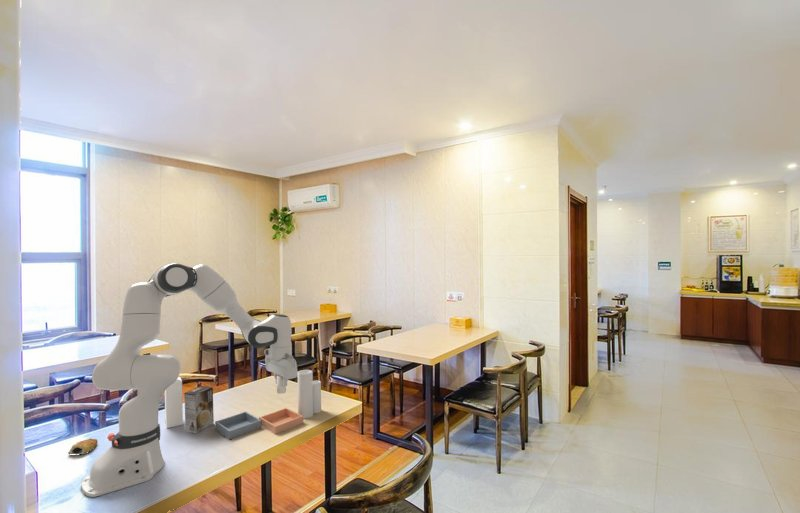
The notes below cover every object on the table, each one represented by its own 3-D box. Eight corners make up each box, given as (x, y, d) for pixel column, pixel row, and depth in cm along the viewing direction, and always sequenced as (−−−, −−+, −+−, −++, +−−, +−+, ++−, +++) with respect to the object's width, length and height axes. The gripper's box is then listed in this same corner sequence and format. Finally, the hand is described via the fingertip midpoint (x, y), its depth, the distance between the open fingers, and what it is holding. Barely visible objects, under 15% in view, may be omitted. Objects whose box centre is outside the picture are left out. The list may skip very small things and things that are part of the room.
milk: (166, 428, 162) (165, 376, 161) (165, 423, 166) (163, 372, 166) (183, 424, 165) (181, 373, 165) (181, 419, 170) (179, 369, 170)
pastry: (84, 444, 149) (84, 434, 149) (103, 443, 150) (103, 433, 150) (66, 457, 140) (66, 446, 140) (86, 456, 141) (86, 445, 141)
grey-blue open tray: (229, 440, 151) (229, 431, 151) (215, 429, 160) (215, 421, 160) (261, 428, 161) (260, 420, 161) (246, 419, 170) (245, 411, 170)
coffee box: (202, 421, 168) (202, 385, 167) (214, 423, 166) (213, 386, 165) (184, 431, 159) (183, 392, 159) (196, 433, 157) (195, 394, 157)
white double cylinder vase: (306, 420, 168) (305, 375, 167) (294, 417, 171) (293, 372, 171) (323, 411, 178) (322, 368, 177) (311, 408, 181) (311, 366, 181)
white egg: (279, 394, 160) (279, 377, 160) (275, 392, 163) (275, 375, 163) (287, 391, 163) (287, 375, 163) (283, 389, 166) (282, 373, 166)
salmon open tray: (275, 435, 155) (275, 426, 155) (259, 425, 164) (258, 417, 163) (303, 424, 165) (303, 416, 164) (286, 415, 173) (286, 407, 173)
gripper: (301, 354, 158) (301, 388, 158) (275, 347, 172) (276, 378, 172) (287, 357, 154) (287, 392, 154) (262, 349, 168) (262, 381, 168)
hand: (281, 384), depth 163 cm, fingers closed on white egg, 4 cm apart
